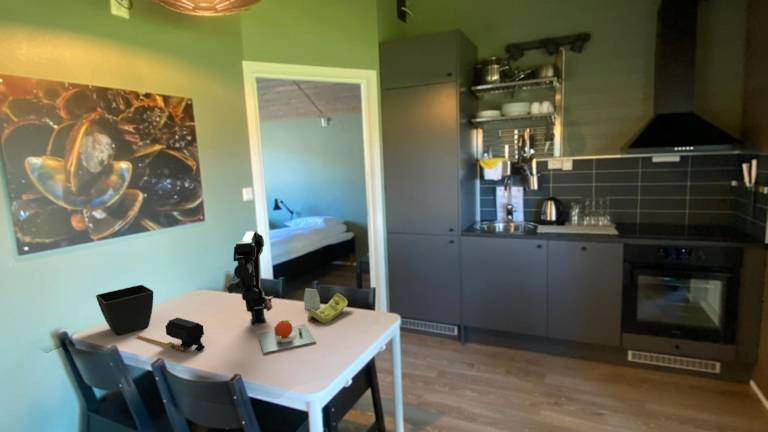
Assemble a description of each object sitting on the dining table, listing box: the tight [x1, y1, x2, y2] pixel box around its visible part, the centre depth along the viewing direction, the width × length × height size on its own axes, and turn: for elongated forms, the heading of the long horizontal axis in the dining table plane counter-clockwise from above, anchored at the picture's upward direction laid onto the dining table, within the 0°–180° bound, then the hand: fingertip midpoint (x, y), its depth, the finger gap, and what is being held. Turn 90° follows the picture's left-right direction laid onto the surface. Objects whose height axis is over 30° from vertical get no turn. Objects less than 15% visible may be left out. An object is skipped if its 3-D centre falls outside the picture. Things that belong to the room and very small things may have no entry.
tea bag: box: [303, 288, 321, 311], centre depth 201 cm, size 4×7×10 cm, turn 61°
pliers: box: [265, 295, 274, 311], centre depth 212 cm, size 12×20×3 cm, turn 178°
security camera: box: [165, 317, 206, 352], centre depth 165 cm, size 7×18×10 cm, turn 58°
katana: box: [135, 334, 187, 352], centre depth 168 cm, size 1×35×3 cm, turn 59°
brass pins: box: [273, 326, 302, 344], centre depth 168 cm, size 12×10×3 cm
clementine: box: [274, 319, 293, 338], centre depth 167 cm, size 8×7×7 cm
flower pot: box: [95, 284, 154, 336], centre depth 187 cm, size 19×19×17 cm
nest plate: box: [257, 323, 317, 356], centre depth 167 cm, size 20×20×1 cm
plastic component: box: [306, 293, 349, 324], centre depth 192 cm, size 20×7×10 cm
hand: (250, 308), depth 170 cm, fingers open, 9 cm apart
